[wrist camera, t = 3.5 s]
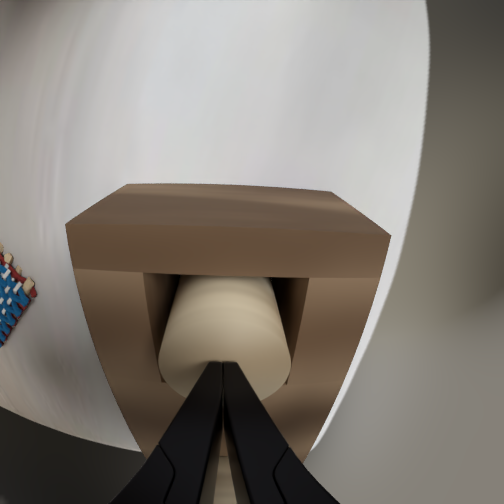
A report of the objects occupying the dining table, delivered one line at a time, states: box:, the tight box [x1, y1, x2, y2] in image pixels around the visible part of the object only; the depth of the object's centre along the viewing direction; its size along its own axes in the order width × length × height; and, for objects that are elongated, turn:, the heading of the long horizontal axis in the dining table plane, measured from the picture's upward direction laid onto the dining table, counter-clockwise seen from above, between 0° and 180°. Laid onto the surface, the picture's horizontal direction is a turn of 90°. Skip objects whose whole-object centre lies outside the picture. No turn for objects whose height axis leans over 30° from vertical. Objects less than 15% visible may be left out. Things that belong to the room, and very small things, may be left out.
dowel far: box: [213, 456, 237, 504], centre depth 13 cm, size 4×4×6 cm
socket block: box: [65, 184, 391, 464], centre depth 14 cm, size 20×10×6 cm, turn 176°
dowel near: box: [158, 274, 291, 401], centre depth 11 cm, size 4×4×6 cm
